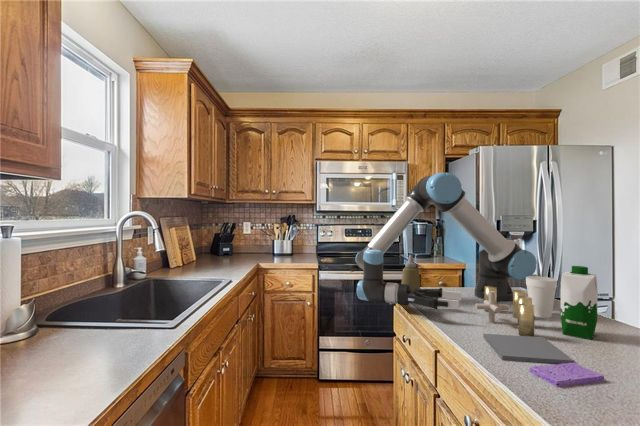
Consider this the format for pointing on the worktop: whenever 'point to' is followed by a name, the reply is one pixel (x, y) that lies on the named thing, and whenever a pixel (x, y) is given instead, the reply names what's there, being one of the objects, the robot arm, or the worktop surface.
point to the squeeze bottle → (411, 274)
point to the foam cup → (541, 294)
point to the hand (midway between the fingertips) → (460, 300)
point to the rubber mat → (526, 349)
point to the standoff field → (518, 310)
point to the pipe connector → (492, 306)
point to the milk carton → (579, 303)
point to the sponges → (566, 374)
